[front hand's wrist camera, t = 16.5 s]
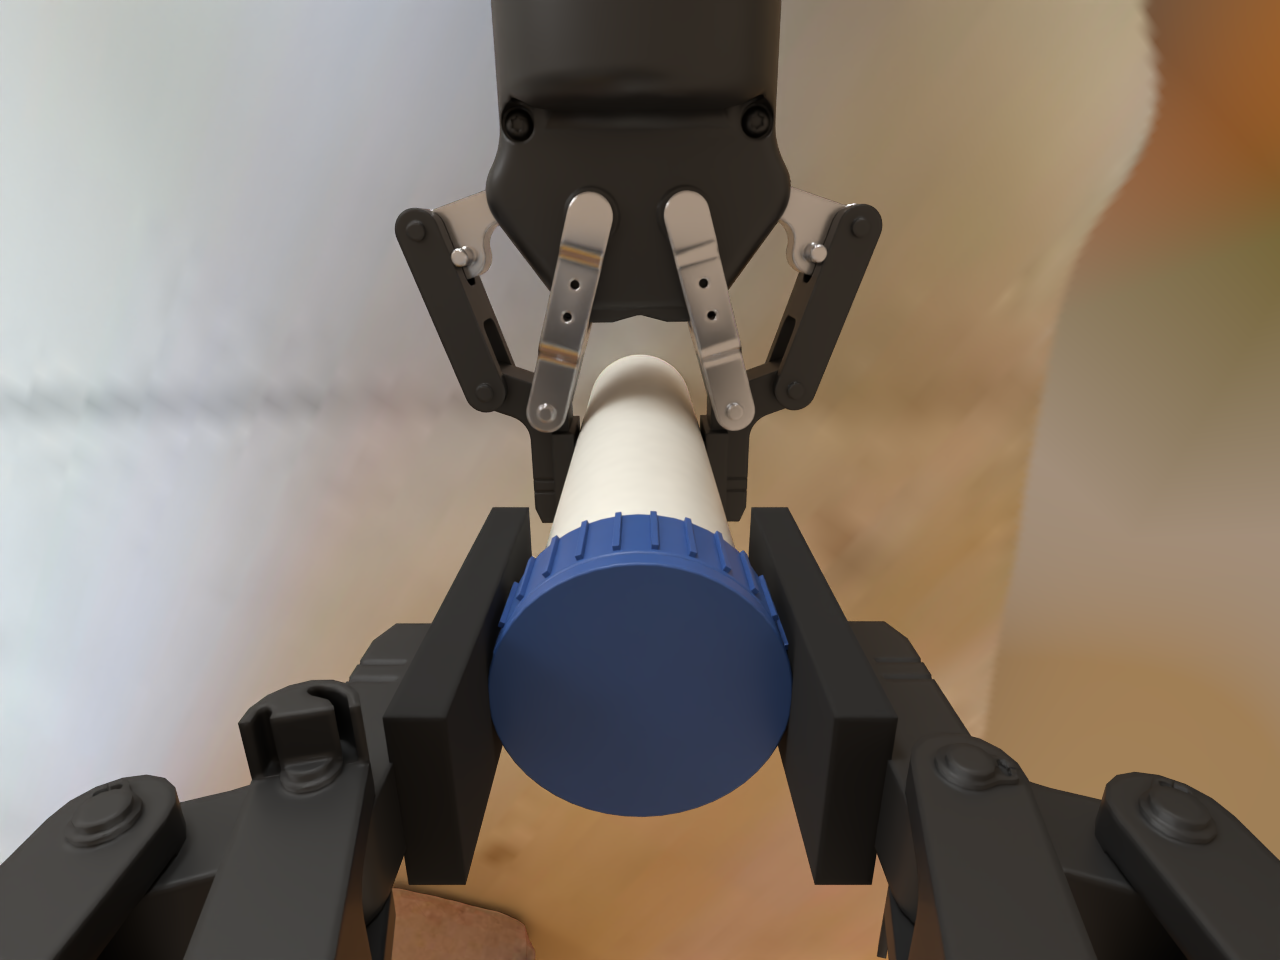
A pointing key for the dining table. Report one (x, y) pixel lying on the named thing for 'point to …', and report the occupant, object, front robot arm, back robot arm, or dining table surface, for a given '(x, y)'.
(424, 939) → the stone
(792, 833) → the dining table surface
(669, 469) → the white cylinder
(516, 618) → the lid
